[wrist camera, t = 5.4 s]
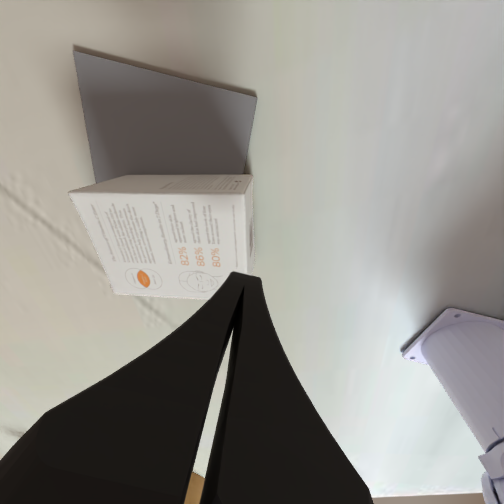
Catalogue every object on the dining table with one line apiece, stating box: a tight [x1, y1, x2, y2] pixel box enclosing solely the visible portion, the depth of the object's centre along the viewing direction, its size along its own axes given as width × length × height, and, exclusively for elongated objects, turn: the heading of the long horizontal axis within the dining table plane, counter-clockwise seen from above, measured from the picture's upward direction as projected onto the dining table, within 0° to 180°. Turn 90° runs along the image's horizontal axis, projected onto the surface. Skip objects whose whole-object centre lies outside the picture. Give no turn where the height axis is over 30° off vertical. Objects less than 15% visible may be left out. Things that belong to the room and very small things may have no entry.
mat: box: [73, 51, 257, 184], centre depth 17 cm, size 12×16×1 cm
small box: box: [68, 174, 255, 300], centre depth 16 cm, size 8×6×10 cm
